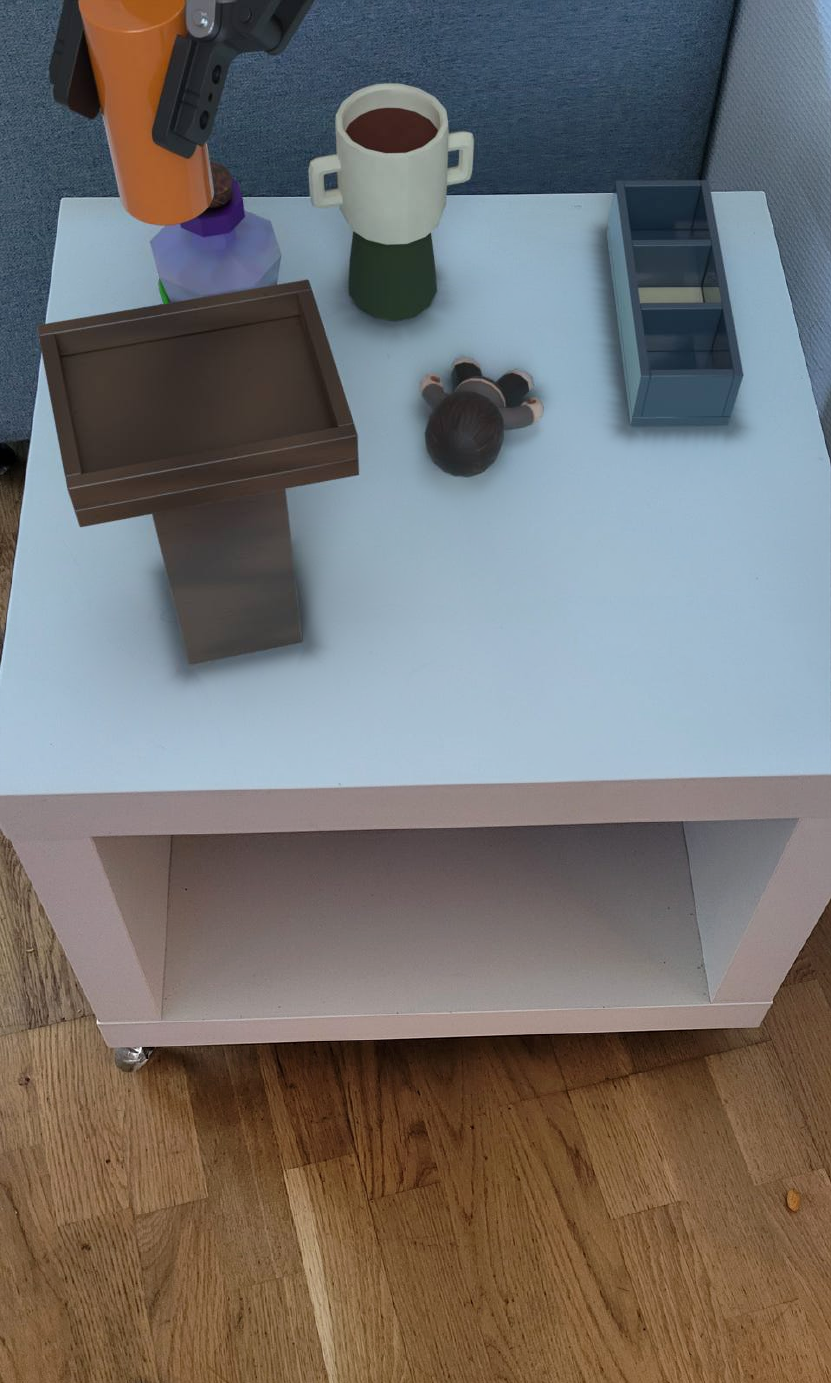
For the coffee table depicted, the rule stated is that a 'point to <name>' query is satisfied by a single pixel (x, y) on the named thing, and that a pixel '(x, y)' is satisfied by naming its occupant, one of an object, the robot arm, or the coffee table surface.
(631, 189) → the three-compartment dish
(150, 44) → the orange glossy cylinder
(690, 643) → the coffee table surface
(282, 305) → the walnut tray stand
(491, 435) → the figurine
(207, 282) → the potion bottle
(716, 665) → the coffee table surface
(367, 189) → the character mug
